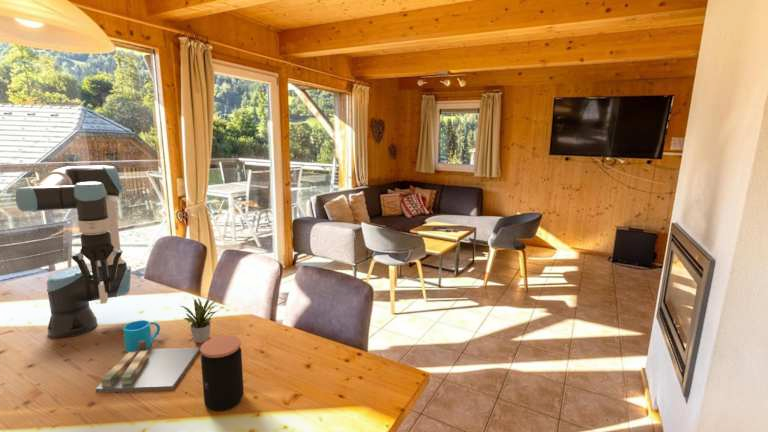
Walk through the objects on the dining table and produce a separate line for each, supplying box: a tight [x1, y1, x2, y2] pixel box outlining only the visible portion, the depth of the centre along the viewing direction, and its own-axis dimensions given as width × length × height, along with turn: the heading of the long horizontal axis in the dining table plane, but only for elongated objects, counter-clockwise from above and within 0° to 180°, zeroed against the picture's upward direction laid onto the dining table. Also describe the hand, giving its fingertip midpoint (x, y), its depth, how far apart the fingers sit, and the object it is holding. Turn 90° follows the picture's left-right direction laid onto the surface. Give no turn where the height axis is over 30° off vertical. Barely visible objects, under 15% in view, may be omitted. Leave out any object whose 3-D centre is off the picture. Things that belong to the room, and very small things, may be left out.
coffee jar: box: [199, 334, 244, 412], centre depth 111 cm, size 11×11×18 cm
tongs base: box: [100, 340, 150, 387], centre depth 125 cm, size 20×5×4 cm, turn 5°
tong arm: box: [121, 350, 149, 385], centre depth 123 cm, size 15×2×2 cm, turn 13°
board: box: [95, 347, 201, 393], centre depth 126 cm, size 22×22×1 cm
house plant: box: [180, 296, 220, 344], centre depth 144 cm, size 14×14×16 cm
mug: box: [122, 319, 161, 352], centre depth 141 cm, size 12×8×8 cm
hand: (104, 301), depth 125 cm, fingers closed
